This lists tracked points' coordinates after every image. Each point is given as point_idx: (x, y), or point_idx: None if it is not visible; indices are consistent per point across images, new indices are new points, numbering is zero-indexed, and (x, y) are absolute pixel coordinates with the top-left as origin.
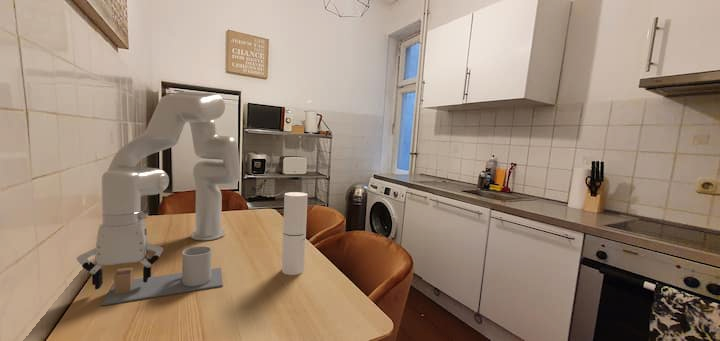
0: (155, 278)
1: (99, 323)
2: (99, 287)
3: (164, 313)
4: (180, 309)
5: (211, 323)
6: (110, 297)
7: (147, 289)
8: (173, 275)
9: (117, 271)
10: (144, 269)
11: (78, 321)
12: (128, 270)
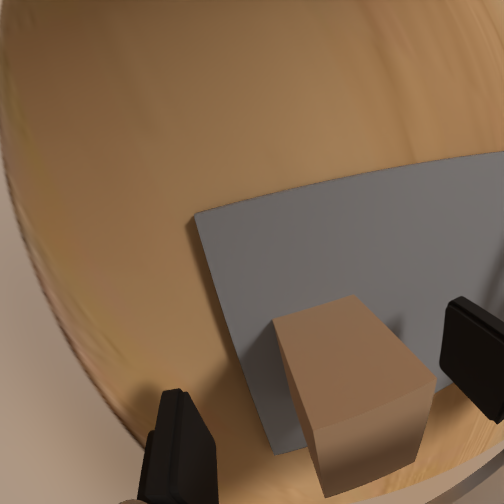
0: (446, 198)
1: (314, 493)
2: (213, 440)
3: (452, 435)
4: (481, 414)
5: (498, 431)
6: (283, 418)
7: (430, 341)
8: (501, 175)
9: (323, 460)
10: (494, 418)
11: (248, 495)
12: (409, 433)
